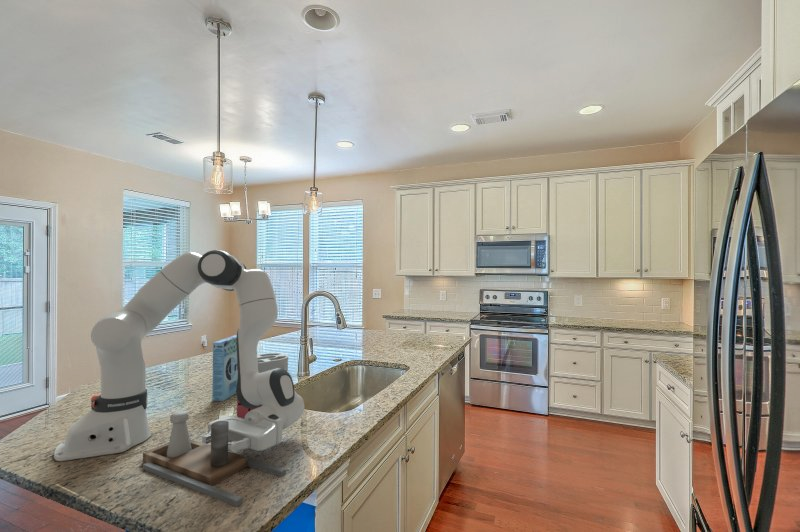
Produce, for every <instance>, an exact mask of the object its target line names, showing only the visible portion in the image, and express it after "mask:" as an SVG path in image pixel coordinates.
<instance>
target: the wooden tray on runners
mask: <svg viewBox="0 0 800 532" xmlns="http://www.w3.org/2000/svg"><path fill="white" fill-rule="evenodd" d="M228 433H229V422H228V421H217V422H214V423H212V424H211V442H210V444H208V445H207V444H205V443H202V442H201V441H198V442H197V440H194V439H190V443H191V448H192V450H190V451H188V452H186V453H184V454H182V455H179V456H177V457H175V458H173V459H169V458H168V457H166V456H167V450H168V445H169V441H168V442H167V443H164V444H161V445H159V446H157V447H154V448H150V449H149V450H147V451H144V452H142V463H143V464H145V463H147V462H151V463H153V464H156V465H159V466H161V467H164V468H167V469H169V470H172V471H174V472H177V473H180V474H182V475H185V476H188V477H190V478H193V479H195V480H198V481H201V482H203V483H206V484H209V485H211V486H214V487H215V486H216V485H217V484H219V483H221V482H222V481H225V480H226V479H228V478H230V477H232V476H233V475H235V474H236V473H239V472H240V471H242V470H243V469H245V468H247V467H248V466H247V457H248V456H246V457H245V455H243V454H239V453H236V452H233V453H232V452H231V451H230V452H229V451H228V444H229V442H228ZM200 442H201V443H200ZM210 445H211V446H210ZM235 453H236V454H235ZM242 455H243V456H242Z"/></svg>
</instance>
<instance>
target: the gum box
mask: <svg viewBox="0 0 800 532" xmlns="http://www.w3.org/2000/svg"><path fill="white" fill-rule="evenodd" d="M237 380H238V365H237V334H234V335H231V336H229V337H226V338H223V339H220V340H217V341H214V342H213V343H212V393H211V394H212V397H211V401H212V402H224V401H225V400H227V399H229V398H231V397H232V396H233V395H236V387H237Z"/></svg>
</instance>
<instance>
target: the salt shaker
mask: <svg viewBox="0 0 800 532" xmlns="http://www.w3.org/2000/svg"><path fill="white" fill-rule="evenodd" d="M189 417H190V415H189V412H188V411H187V410H177V411H175V412H173V413H172V414H171V415H170V418H169V419H170V423H171V424H172V427H171V432H170V437H169V440H168V442H169V445H168V450H167V455H166V456H167V458H169V459H173V458H175V457H177V456H179V455H182V454H184V453H186V452H188V451H190V450H192V448H191V443H190V433H189V429H188V424H187V421H188V420H189Z"/></svg>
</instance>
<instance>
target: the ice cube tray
mask: <svg viewBox="0 0 800 532" xmlns="http://www.w3.org/2000/svg"><path fill="white" fill-rule="evenodd" d="M257 363H258V372H259V373H262V372H266V371H269V370H272V369H276V368H282V369H285V370H286V371H287V372H289V371H288V370H289V355H288V354H286V353H280V352H269V353H261V354H257Z"/></svg>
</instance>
